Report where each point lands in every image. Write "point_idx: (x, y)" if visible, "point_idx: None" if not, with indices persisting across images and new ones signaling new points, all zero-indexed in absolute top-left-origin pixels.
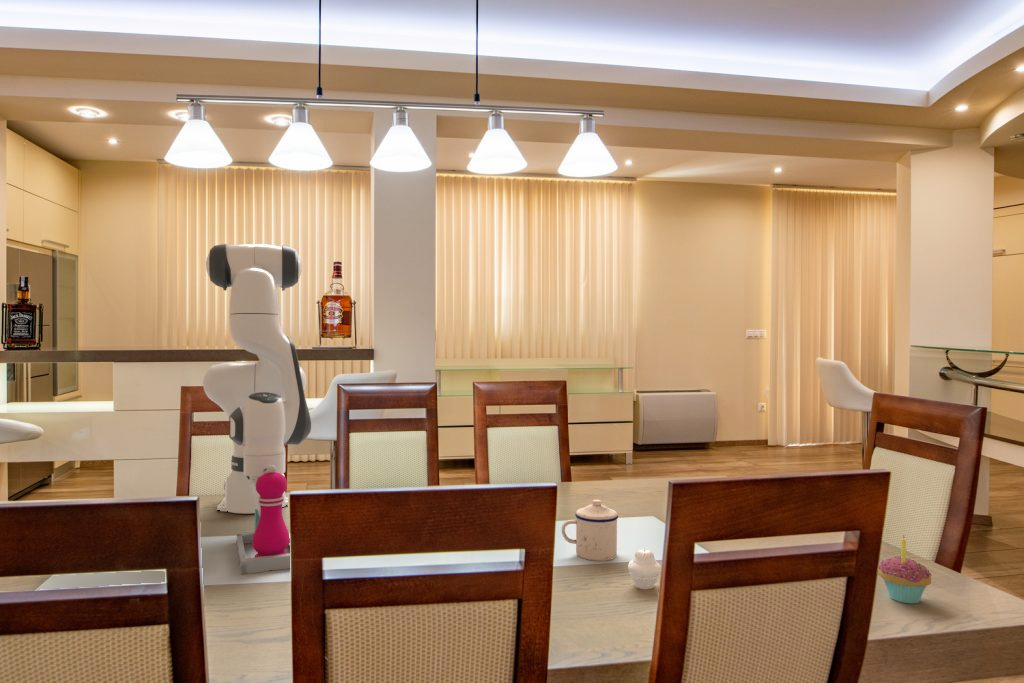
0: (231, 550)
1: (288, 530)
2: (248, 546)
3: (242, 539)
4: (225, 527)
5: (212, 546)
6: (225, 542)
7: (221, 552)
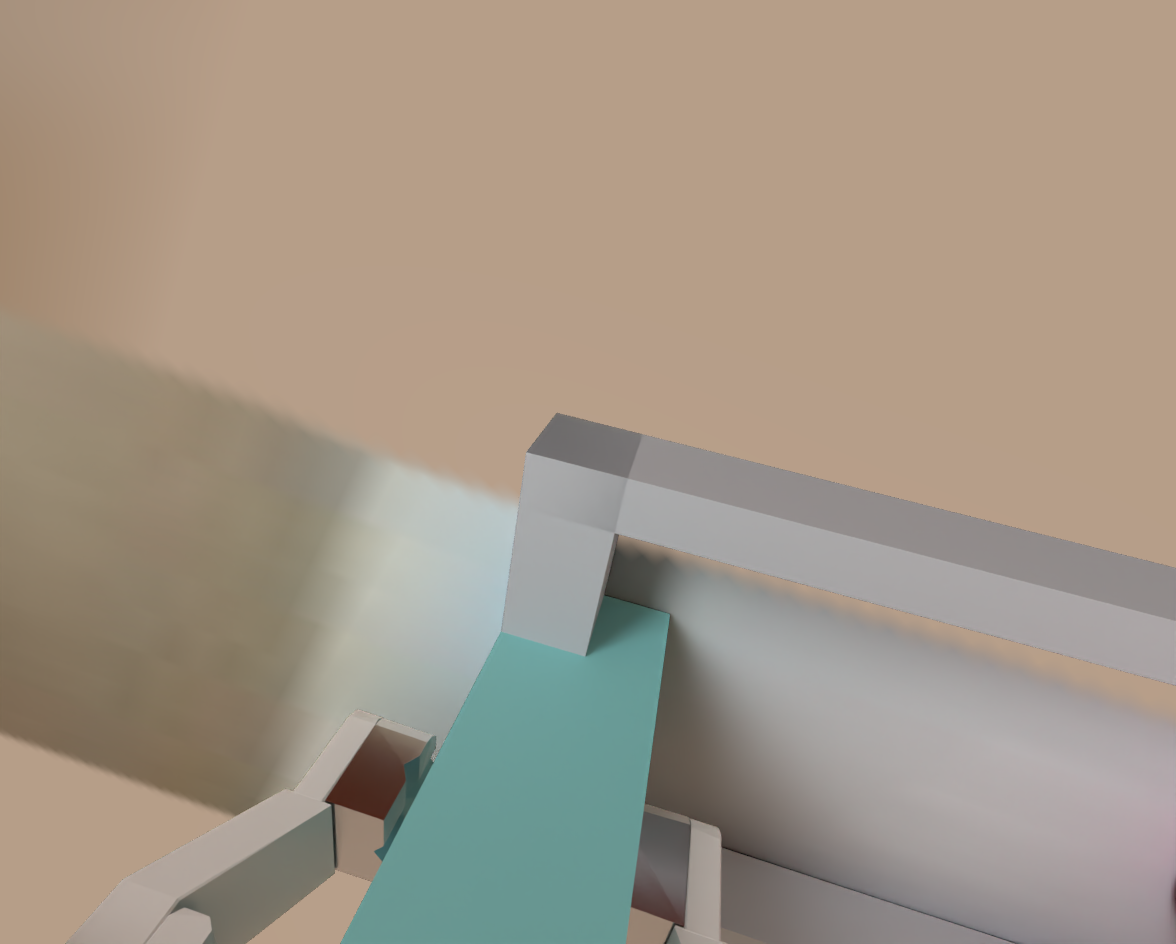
0: None
1: (595, 500)
2: (654, 790)
3: None
4: (78, 699)
5: None
6: None
7: None
